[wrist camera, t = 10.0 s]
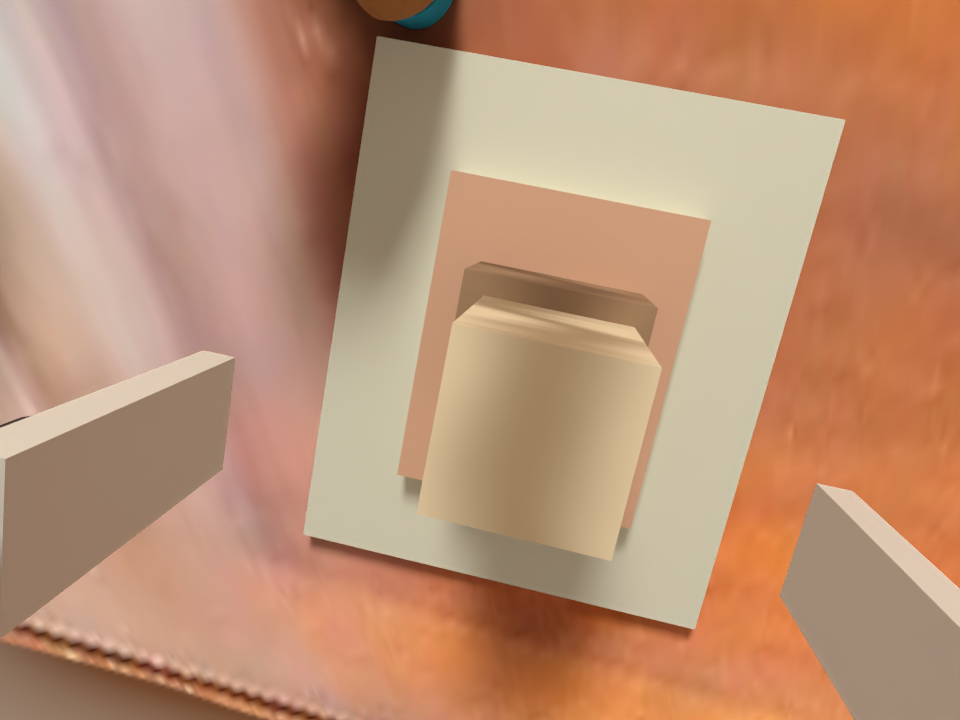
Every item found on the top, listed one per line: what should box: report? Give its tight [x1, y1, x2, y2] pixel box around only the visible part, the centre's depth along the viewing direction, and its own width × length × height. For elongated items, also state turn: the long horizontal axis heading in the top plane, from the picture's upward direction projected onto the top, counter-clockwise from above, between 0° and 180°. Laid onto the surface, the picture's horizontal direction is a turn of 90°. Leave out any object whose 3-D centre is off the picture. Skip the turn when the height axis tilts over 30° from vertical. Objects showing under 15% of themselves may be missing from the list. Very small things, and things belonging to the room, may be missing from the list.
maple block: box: [416, 296, 662, 561], centre depth 21 cm, size 6×6×7 cm
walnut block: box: [455, 261, 658, 346], centre depth 27 cm, size 7×7×5 cm
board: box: [303, 36, 845, 630], centre depth 31 cm, size 20×24×2 cm
